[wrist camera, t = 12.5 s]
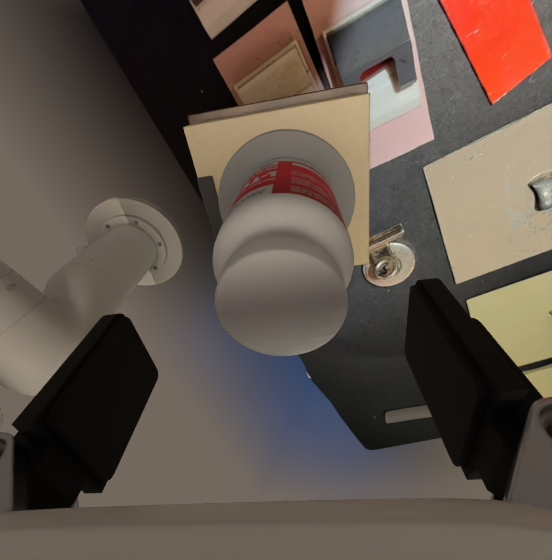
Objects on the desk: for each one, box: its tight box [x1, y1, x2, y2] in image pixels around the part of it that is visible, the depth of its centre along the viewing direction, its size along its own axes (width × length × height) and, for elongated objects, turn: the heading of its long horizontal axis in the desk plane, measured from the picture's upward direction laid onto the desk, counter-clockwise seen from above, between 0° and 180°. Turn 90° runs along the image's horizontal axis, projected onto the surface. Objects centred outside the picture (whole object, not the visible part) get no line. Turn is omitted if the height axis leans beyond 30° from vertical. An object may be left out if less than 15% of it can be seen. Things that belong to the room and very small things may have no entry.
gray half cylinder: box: [385, 405, 432, 423], centre depth 78 cm, size 4×20×2 cm, turn 110°
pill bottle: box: [213, 158, 354, 356], centre depth 15 cm, size 6×6×11 cm
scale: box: [183, 93, 370, 265], centre depth 21 cm, size 11×11×4 cm
